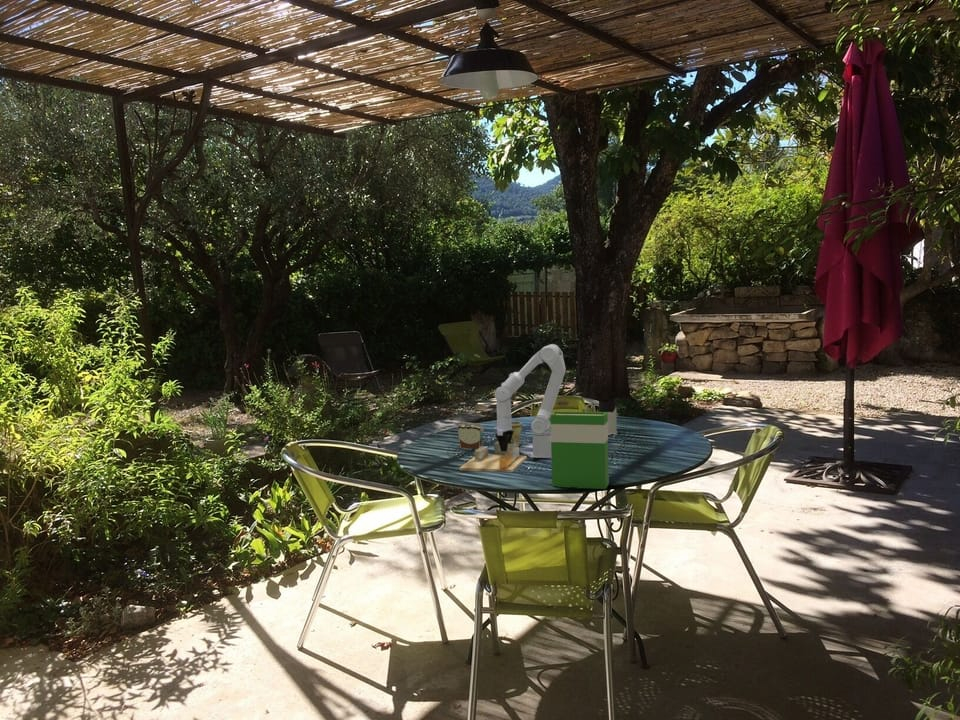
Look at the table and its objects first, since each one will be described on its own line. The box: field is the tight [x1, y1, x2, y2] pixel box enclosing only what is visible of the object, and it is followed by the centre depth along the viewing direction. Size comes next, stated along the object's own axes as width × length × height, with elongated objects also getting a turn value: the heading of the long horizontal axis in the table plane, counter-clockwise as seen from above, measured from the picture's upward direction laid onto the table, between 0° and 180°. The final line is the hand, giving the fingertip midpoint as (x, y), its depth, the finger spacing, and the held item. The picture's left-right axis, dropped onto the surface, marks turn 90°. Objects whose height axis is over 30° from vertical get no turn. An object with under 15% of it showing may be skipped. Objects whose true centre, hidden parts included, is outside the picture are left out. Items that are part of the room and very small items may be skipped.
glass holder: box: [584, 399, 618, 435], centre depth 337 cm, size 9×14×15 cm, turn 89°
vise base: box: [459, 445, 528, 473], centre depth 286 cm, size 20×23×5 cm
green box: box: [550, 411, 610, 490], centre depth 250 cm, size 18×7×24 cm, turn 72°
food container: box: [456, 422, 485, 451], centre depth 318 cm, size 12×6×10 cm, turn 59°
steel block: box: [493, 440, 516, 455], centre depth 301 cm, size 8×4×5 cm, turn 73°
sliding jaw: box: [499, 446, 520, 468], centre depth 283 cm, size 2×20×4 cm, turn 163°
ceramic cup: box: [511, 420, 523, 447], centre depth 319 cm, size 13×10×10 cm
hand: (505, 450), depth 301 cm, fingers closed on steel block, 4 cm apart
